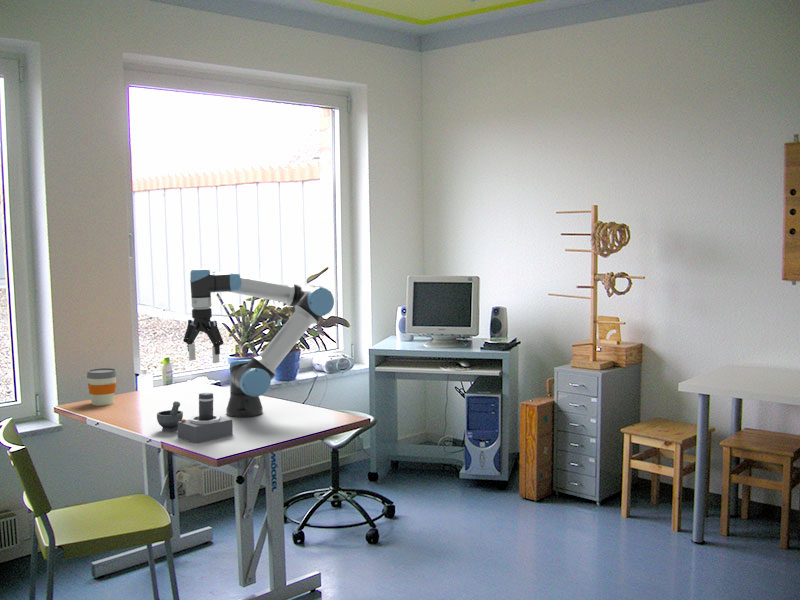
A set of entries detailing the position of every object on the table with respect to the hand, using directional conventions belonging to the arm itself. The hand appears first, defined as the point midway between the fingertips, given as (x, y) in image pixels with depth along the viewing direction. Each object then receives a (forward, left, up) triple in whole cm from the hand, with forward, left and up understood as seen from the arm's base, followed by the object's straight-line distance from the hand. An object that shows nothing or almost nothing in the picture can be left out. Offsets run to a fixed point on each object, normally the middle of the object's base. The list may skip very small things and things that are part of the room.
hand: (204, 361), depth 304 cm
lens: (+10, +15, -20) cm, 27 cm away
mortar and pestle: (+14, -2, -26) cm, 29 cm away
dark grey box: (+10, +15, -26) cm, 31 cm away
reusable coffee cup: (+8, -68, -26) cm, 73 cm away
